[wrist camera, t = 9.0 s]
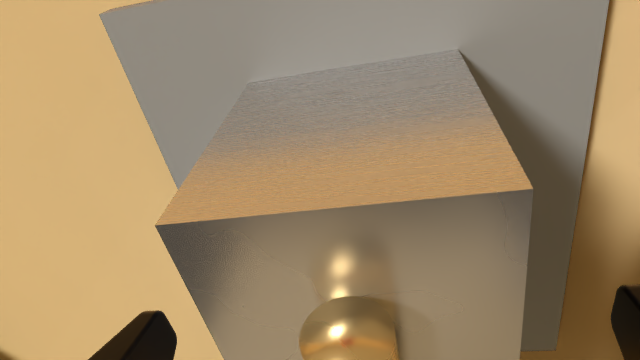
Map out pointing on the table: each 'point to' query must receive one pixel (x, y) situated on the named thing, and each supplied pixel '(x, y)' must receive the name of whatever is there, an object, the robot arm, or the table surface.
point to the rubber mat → (379, 45)
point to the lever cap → (357, 219)
